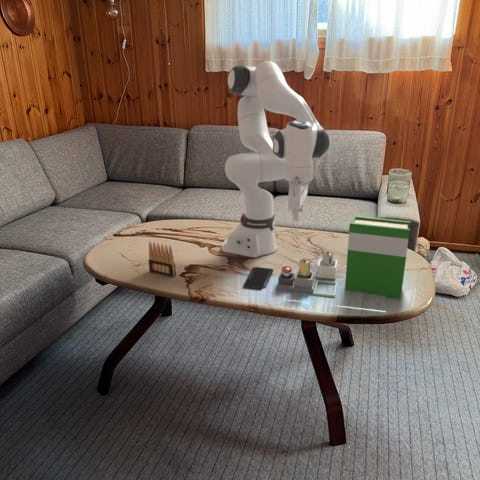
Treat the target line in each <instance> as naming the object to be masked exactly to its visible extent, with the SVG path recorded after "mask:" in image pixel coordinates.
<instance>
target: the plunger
mask: <svg viewBox="0 0 480 480" xmlns="http://www.w3.org/2000/svg"><path fill="white" fill-rule="evenodd" d="M292 271H293V267H292V266H289V265H285V266H282V267H281V272H282V278H288V279H290V278H291V273H292Z"/></svg>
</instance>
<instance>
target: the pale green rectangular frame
mask: <svg viewBox="0 0 480 480" xmlns="http://www.w3.org/2000/svg"><path fill="white" fill-rule="evenodd" d="M319 283H320V284H328V285H334V291H333V294H331V293H326V292H325V293H322V292H317V287H318V284H319ZM337 288H338V282H337V281H331V280H321V279H316V284H315V288H314V291H313V294H312V295H313V296H319V297H327V298H328V297H329V298H336V293H337Z"/></svg>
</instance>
